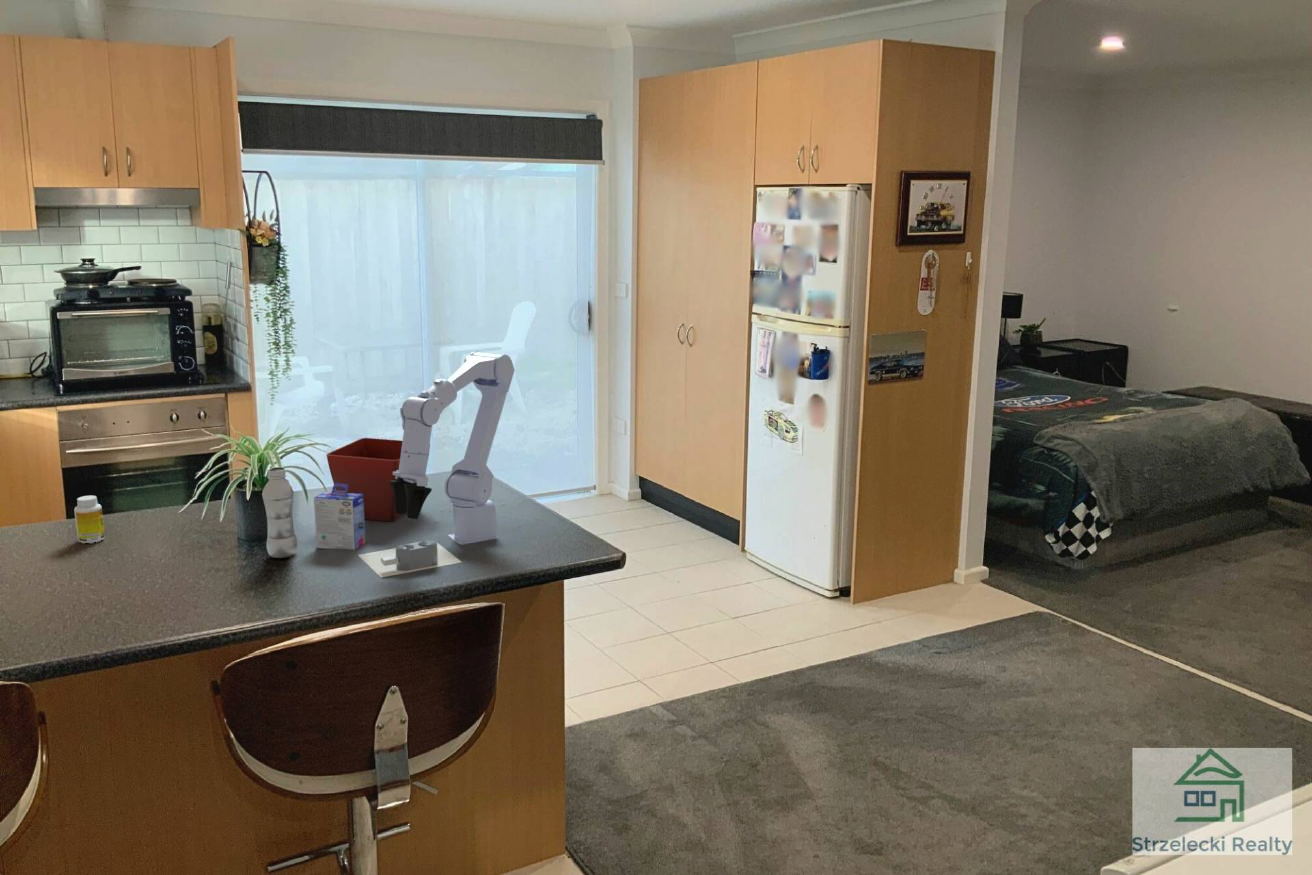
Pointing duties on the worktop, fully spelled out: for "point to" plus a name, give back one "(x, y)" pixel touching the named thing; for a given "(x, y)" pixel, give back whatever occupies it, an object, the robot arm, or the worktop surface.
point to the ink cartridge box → (339, 519)
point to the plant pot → (369, 474)
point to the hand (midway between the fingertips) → (406, 516)
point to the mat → (384, 571)
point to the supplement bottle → (89, 520)
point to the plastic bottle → (279, 514)
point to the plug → (413, 556)
